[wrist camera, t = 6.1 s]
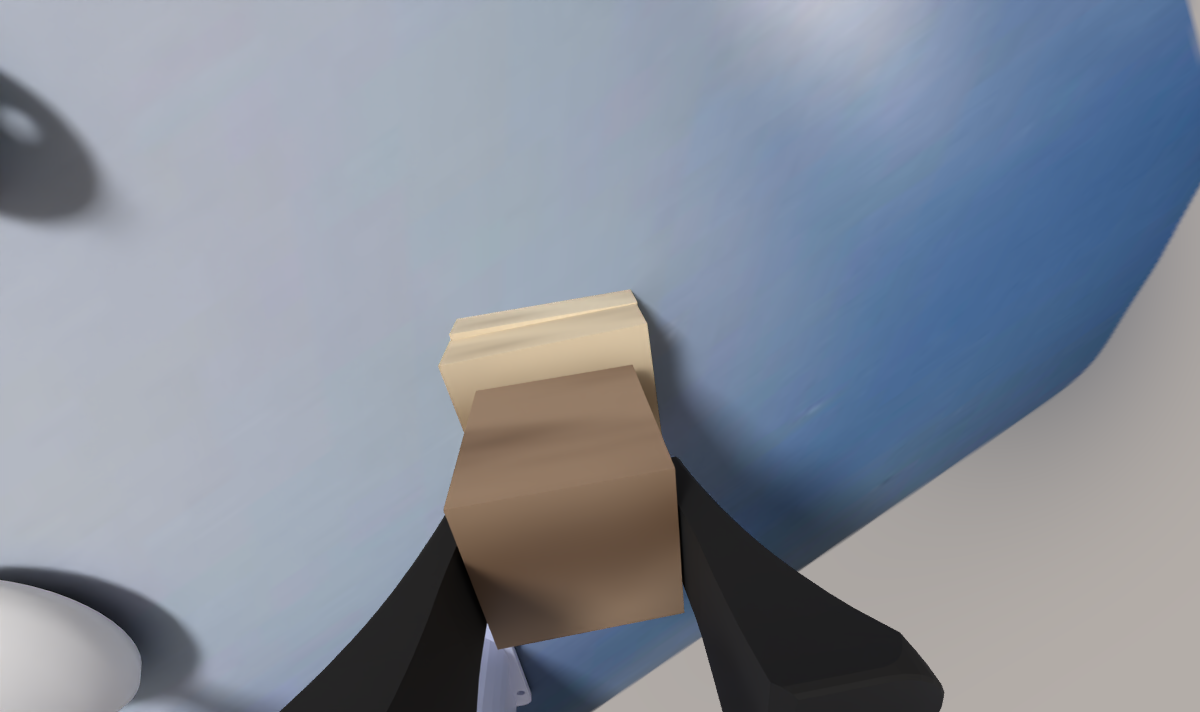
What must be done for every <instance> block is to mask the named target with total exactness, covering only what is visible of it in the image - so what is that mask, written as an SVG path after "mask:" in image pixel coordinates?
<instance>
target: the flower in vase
mask: <svg viewBox="0 0 1200 712" xmlns="http://www.w3.org/2000/svg"><path fill="white" fill-rule="evenodd" d="M141 666H142V661H141V656H140V653H139V651H138V648H137V646H136V645H135V643H134V642H133V641H132V639H131V638H130V637H129V636H128V635H127V634H126V632H125V631H124V630H123V629H122V628H120V627H119V626H118V625H117V624H115V623H114V622H113V621H112V620H110V619H109V618H107V617H105V616H104V615H102V614H101V613H99V612H97V611H96V610H94V609H92V608H90V607H88V606H86V605H84V604H82V603H79V602H77V601H75V600H73V599H70V598H68V597H65V596H62V595H60V594H57V593H54V592H51V591H48V590H44V589H40V588H37V587H33V586H29V585H24V584H20V583H15V582H9V581H3V580H0V712H118V711H119V710H120V709H122V708H123V707H124V706H125V705H126V704H127V703H129V702H130V701H131V700H132V699H133V697H134V696H135V694H136V693H137V691H138V689H139V686H140V680H141Z"/></svg>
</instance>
